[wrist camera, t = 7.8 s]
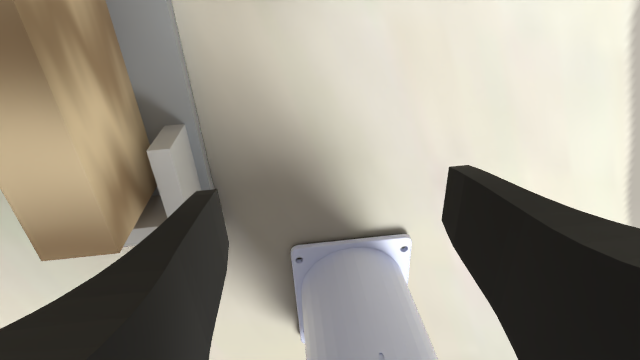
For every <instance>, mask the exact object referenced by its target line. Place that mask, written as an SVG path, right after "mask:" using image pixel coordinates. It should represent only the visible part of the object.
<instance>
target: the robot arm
mask: <svg viewBox="0 0 640 360" xmlns="http://www.w3.org/2000/svg"><path fill="white" fill-rule="evenodd" d="M442 222H443V225H444V227H445V229H446V232H447V234H448V236H449V238H450V240H451V243H452V245H453V247H454V248H455V250H456V252H457V253H458V255H459V256H460V258H461V260H462V261H463V263H464V264H465V266H466V268H467V269H468V271H469V272H470V274H471V275H472V277H473V278H474V280H475V282H476V283H477V285H478V286H479V288H480V289H481V291H482V292H483V294H484V296H485V297H486V299H487V300H488V302H489V303H490V305H491V307H492V308H493V310H494V312H495V314H496V315H497V317H498V319H499V321H500V323H501V325H502V327H503V329H504V331H505V333H506V335H507V337H508V339H509V341H510V343H511V345H512V347H513V349H514V351H515V353H516V356H517V358H518V360H640V229H639V228H636V227H632V226H628V225H624V224H621V223H617V222H614V221H610V220H607V219H604V218H601V217H598V216H594V215H591V214H588V213H585V212H582V211H579V210H576V209H574V208H571V207H568V206H565V205H563V204H560V203H558V202H555V201H553V200H550V199H547V198H545V197H543V196H540V195H538V194H535V193H533V192H531V191H528V190H526V189H524V188H522V187H519V186H517V185H515V184H513V183H510V182H508V181H506V180H504V179H501V178H499V177H497V176H495V175H492V174H490V173H488V172H485V171H483V170H481V169H478V168H475V167H472V166H469V165H464V166H454V167H449V171H448V178H447V186H446V193H445V200H444V207H443V214H442ZM411 245H412V240H411V238H410V236H409V235H407V234H398V235H388V236H379V237H370V238H360V239H351V240H341V241H332V242H322V243H313V244H304V245H296V246H294V247H292V249H291V260H292V269H293V277H294V286H295V294H296V303H297V311H298V319H299V328H300V336H301V341H302V342H303V343H305V350H306V360H438V358H437V355H436V353H435V350H434V348H433V346H432V343H431V341H430V338H429V336H428V334H427V331H426V329H425V326H424V324H423V321H422V319H421V317H420V314H419V312H418V309H417V307H416V305H415V302H414V300H413V297H412V295H411V293H410V290H409V288H408V277H409V266H410V255H411ZM403 246H405V247H404V248H401V247H403ZM228 247H229V241H228V236H227V232H226V227H225V223H224V219H223V214H222V210H221V205H220V201H219V196H218V192H217V189H212V190H202V191H196V192H195V193H193V194H192V195H191V196H190V197H189V198H188V199H187V200H186V201H185V202H184V203H183V204H182V205H181V206H180V207H179V208H178V209H177V210H176V211H175V212H173V213H172V214H171V215H170V216H169V217H168V218H167V219H166V220H165V221H164V222H163V223H162V224H161V225H160V226H159V227H157V228H156V229H155V230H154V231H153V232H152V233H150V234H149V235H148V236H147V237H146V238H145V239H143V240H142V241H141V242H140V243H139V244H137V245H136V246H135V247H134V248H133V249H132V250H130V251H129V252H128V253H126V254H125V255H124V256H122V257H121V258H120V259H118V260H117V261H116V262H114V263H113V264H111V265H110V266H109V267H107V268H106V269H104V270H103V271H102V272H100V273H99V274H97V275H96V276H94V277H93V278H91V279H89V280H88V281H86V282H84V283H83V284H81V285H79V286H78V287H76V288H75V289H73V290H71V291H70V292H68V293H66V294H65V295H63V296H62V297H60V298H58V299H56V300H55V301H53V302H51V303H49V304H48V305H46V306H44V307H42V308H40V309H38V310H36V311H35V312H33V313H31V314H29V315H27V316H25V317H23V318H21V319H19V320H17V321H15V322H13V323H11V324H9V325H7V326H5V327H3V328H1V329H0V360H209V353H210V347H211V341H212V336H213V331H214V327H215V322H216V317H217V313H218V308H219V304H220V299H221V295H222V290H223V286H224V281H225V276H226V271H227V261H228ZM298 257H301V258H302V259H296V258H298Z"/></svg>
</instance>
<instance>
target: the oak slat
mask: <svg viewBox="0 0 640 360" xmlns="http://www.w3.org/2000/svg"><path fill="white" fill-rule="evenodd" d="M149 147H150V144H149V140H148V137H147V134H146V131H145V127H144V124H143V121H142V118H141V114H140V111H139V108H138V105H137V101H136V98H135V95H134V92H133V88H132V85H131V82H130V79H129V75H128V72H127V69H126V66H125V62H124V59H123V56H122V53H121V49H120V46H119V43H118V40H117V36H116V33H115V30H114V27H113V23H112V20H111V17H110V14H109V10H108V7H107V4H106V1H105V0H0V189H1V191H2V192H3V194H4V196H5V198H6V199H7V201H8V203H9V205H10V206H11V208H12V210H13V212H14V213H15V215H16V217H17V219H18V221H19V222H20V224H21V226H22V228H23V229H24V231H25V233H26V235H27V236H28V238H29V240H30V242H31V243H32V245H33V247H34V249H35V250H36V252H37V254H38V256H39V258H40V259H41V261H48V260H57V259H67V258H76V257H86V256H96V255H105V254H115V253H120V251H121V250H122V248H123V246H124V244H125V242H126V241H127V239H128V237H129V235H130V233H131V232H132V230H133V228H134V226H135V224H136V223H137V221H138V219H139V217H140V215H141V214H142V212H143V210H144V208H145V207H146V205H147V203H148V201H149V199H150V198H151V196H152V194H153V192H154V190H155V189H156V187H157V183H156V180H155V177H154V174H153V171H152V167H151V164H150V161H149V158H148V155H147V152H146V151H147V149H148V148H149Z"/></svg>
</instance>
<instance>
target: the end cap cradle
mask: <svg viewBox="0 0 640 360" xmlns="http://www.w3.org/2000/svg"><path fill="white" fill-rule="evenodd" d="M105 1H106V4H107V7H108V10H109V14H110V17H111V20H112V23H113V27H114V30H115V33H116V36H117V40H118V43H119V46H120V49H121V53H122V56H123V59H124V62H125V66H126V69H127V72H128V75H129V79H130V82H131V85H132V88H133V92H134V95H135V98H136V101H137V105H138V108H139V111H140V114H141V118H142V121H143V124H144V127H145V131H146V134H147V137H148V140H149V144H150V147H149V148H148V149H147V151H146V152H147V155H148V158H149V161H150V164H151V167H152V171H153V174H154V177H155V180H156V183H157V187H156V189H155V190H154V192H153V194H152V196H151V198H150V199H149V201H148V203H147V205H146V207H145V208H144V210H143V212H142V214H141V215H140V217H139V219H138V221H137V223H136V224H135V226H134V228H133V230H132V232H131V233H130V235H129V237H128V239H127V241H126V242H125V244H124V246H123V247H126V246H136V245H137V244H139V243H140V242H141V241H142V240H143V239H145V238H146V237H147V236H148V235H149V234H150V233H152V232H153V231H154V230H155V229H156V228H157V227H159V226H160V225H161V224H162V223H163V222H164V221H165V220H166V219H167V218H168V217H169V216H170V215H171V214H172V213H173V212H175V211H176V210H177V209H178V208H179V207H180V206H181V205H182V204H183V203H184V202H185V201H186V200H187V199H188V198H189V197H190V196H191V195H192V194H193V193H195V192H196V191H202V190H212V189H214V186H213V182H212V177H211V173H210V169H209V164H208V160H207V155H206V151H205V147H204V142H203V138H202V134H201V129H200V125H199V120H198V116H197V112H196V107H195V103H194V98H193V94H192V90H191V85H190V81H189V77H188V72H187V68H186V63H185V59H184V55H183V50H182V46H181V41H180V37H179V33H178V28H177V24H176V20H175V15H174V11H173V6H172V2H171V0H105Z"/></svg>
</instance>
